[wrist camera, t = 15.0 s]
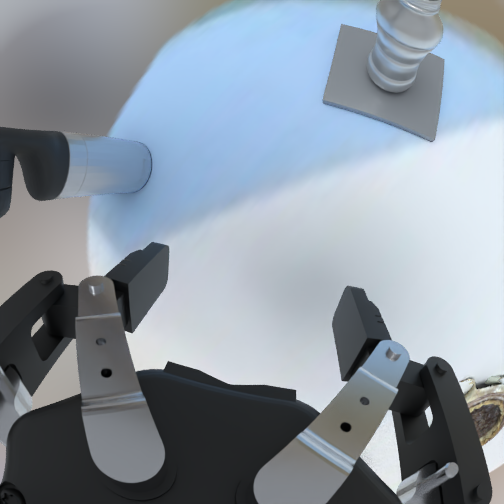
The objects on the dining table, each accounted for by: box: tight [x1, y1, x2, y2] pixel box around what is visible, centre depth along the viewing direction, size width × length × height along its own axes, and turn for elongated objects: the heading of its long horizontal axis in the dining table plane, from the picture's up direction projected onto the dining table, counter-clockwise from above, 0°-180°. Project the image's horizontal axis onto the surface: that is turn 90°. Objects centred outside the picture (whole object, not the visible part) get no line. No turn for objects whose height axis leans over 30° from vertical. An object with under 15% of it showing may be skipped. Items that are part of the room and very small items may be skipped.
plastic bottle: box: [367, 0, 443, 93], centre depth 18 cm, size 6×7×20 cm
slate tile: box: [323, 24, 444, 142], centre depth 28 cm, size 16×14×2 cm
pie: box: [461, 376, 504, 446], centre depth 32 cm, size 28×27×5 cm
